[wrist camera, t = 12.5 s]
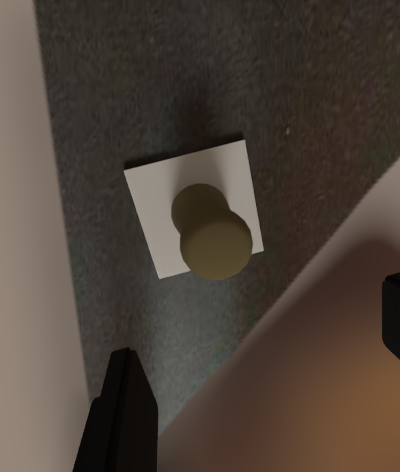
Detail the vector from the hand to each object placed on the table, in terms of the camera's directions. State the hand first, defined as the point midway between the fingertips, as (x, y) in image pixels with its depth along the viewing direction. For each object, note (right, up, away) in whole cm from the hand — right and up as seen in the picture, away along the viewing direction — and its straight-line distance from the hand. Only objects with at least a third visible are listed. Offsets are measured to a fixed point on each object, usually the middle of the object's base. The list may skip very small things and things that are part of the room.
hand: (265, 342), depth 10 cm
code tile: (-3, +6, +19) cm, 20 cm away
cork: (-2, +6, +18) cm, 20 cm away
